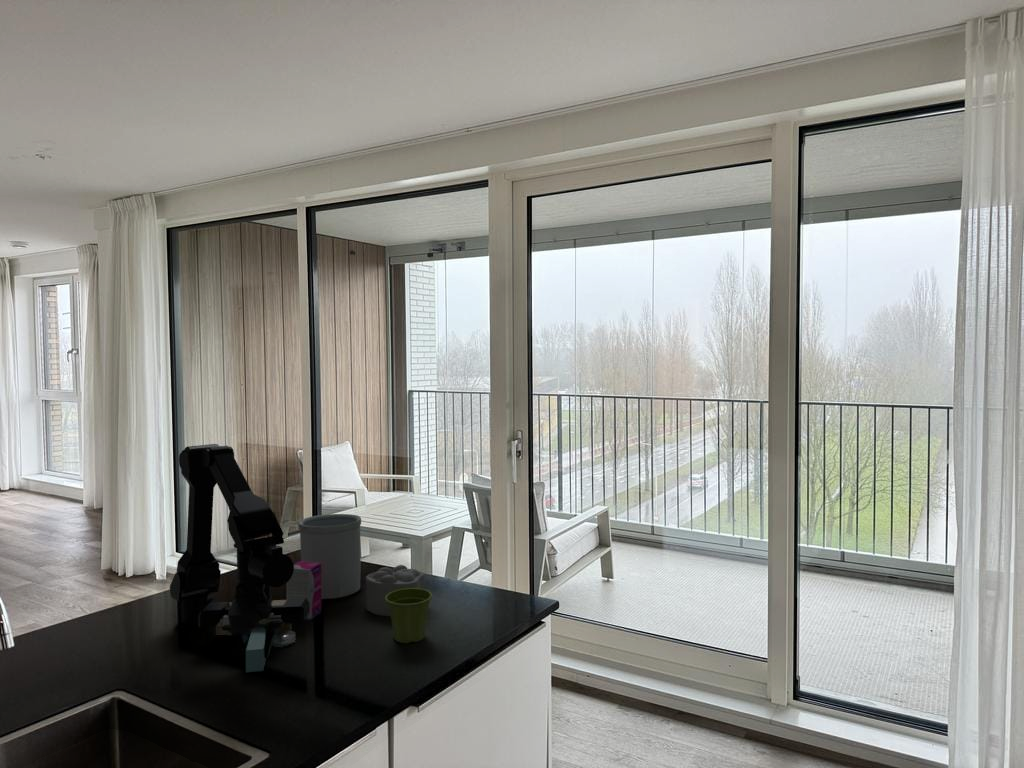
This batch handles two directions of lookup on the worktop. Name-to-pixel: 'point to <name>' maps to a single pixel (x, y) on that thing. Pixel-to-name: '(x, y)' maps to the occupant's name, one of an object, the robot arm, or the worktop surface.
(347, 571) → the utensil holder
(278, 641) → the steel token
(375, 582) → the lumpy-topped squat cylinder
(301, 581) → the supplement box
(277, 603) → the oak plinth shelf
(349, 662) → the worktop surface
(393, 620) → the plant pot
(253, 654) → the dark grey-teal rectangular block
